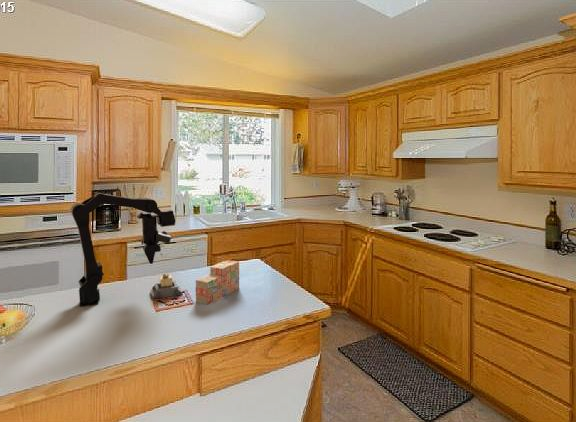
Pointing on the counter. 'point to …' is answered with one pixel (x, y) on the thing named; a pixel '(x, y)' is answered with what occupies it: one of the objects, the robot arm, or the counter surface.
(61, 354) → the counter surface
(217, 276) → the stack of blocks
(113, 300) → the counter surface
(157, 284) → the chassis
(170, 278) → the brass knobbed block
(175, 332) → the counter surface
